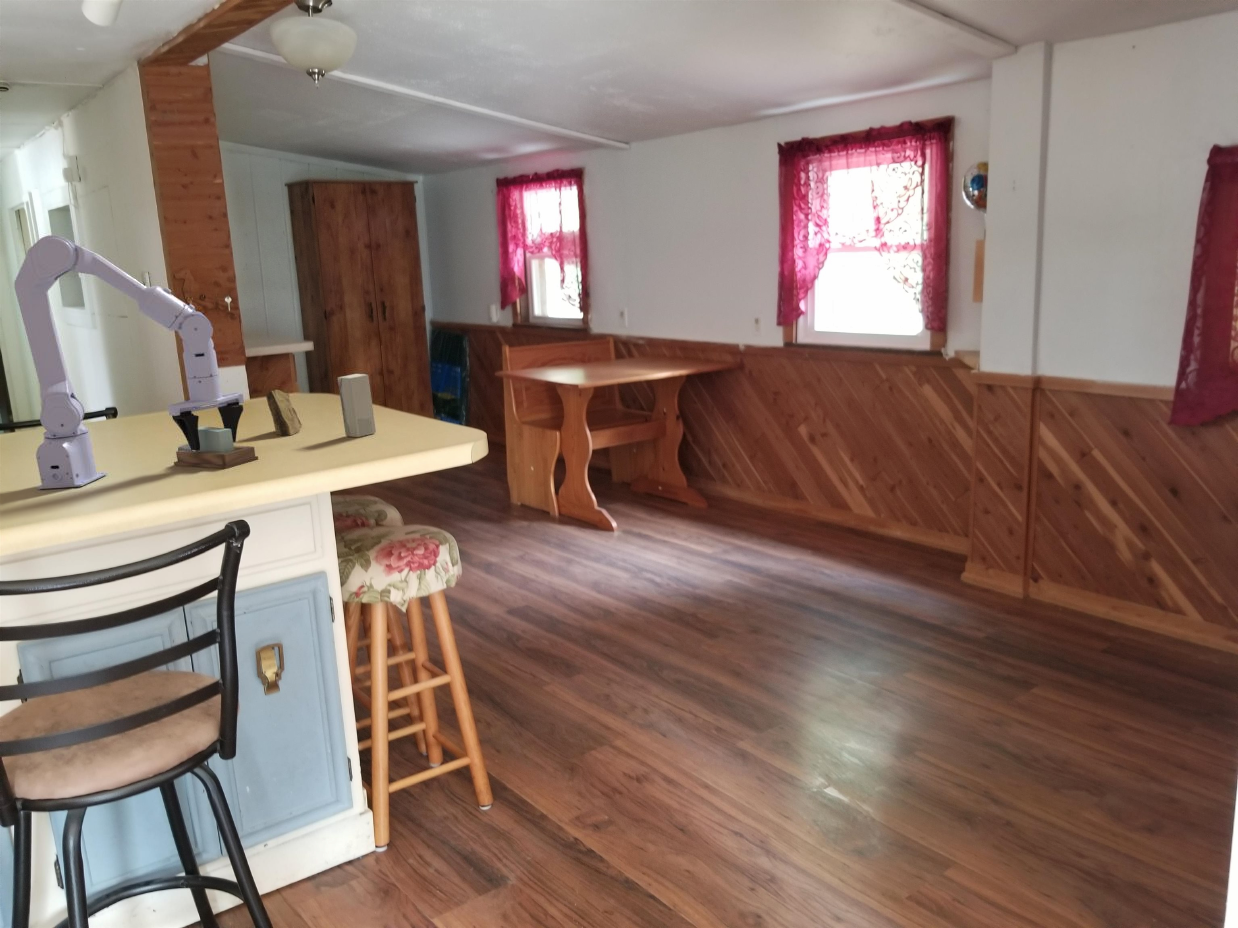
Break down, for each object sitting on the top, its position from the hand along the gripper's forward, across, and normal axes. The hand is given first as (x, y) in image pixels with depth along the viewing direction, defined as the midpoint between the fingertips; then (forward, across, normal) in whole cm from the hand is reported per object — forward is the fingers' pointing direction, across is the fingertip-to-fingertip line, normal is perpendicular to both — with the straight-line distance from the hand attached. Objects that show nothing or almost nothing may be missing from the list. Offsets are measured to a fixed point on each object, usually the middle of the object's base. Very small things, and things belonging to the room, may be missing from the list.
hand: (213, 446), depth 185 cm
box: (+3, -30, +7) cm, 31 cm away
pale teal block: (+3, 0, 0) cm, 3 cm away
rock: (+3, -27, -13) cm, 31 cm away
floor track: (+3, 0, 0) cm, 3 cm away
